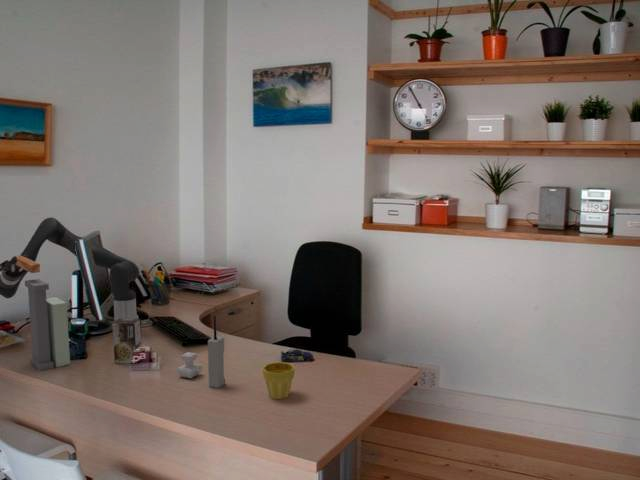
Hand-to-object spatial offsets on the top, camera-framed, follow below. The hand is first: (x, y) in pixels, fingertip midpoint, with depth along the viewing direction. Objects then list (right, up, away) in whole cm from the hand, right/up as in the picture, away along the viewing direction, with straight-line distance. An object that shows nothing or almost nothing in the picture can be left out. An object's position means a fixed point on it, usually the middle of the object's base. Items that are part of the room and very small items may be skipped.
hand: (20, 257), depth 242 cm
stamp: (+71, -42, -20) cm, 85 cm away
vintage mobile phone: (+82, -44, -29) cm, 97 cm away
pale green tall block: (+17, -40, -5) cm, 43 cm away
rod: (+5, -4, -5) cm, 8 cm away
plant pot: (+104, -45, -38) cm, 120 cm away
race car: (+109, -40, -2) cm, 117 cm away
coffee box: (+44, -40, -4) cm, 59 cm away
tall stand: (+12, -40, -9) cm, 43 cm away
